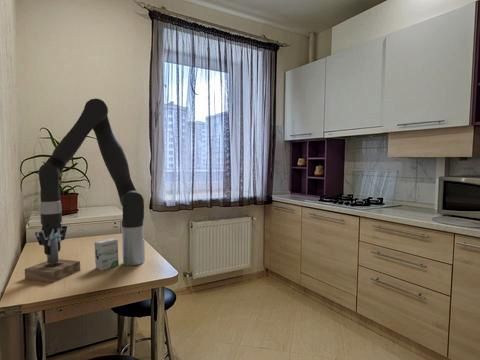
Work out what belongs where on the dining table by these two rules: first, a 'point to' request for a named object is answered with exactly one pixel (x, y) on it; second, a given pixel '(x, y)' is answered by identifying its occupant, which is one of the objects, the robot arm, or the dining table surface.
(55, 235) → the peg
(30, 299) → the dining table surface
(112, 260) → the ink box
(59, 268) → the socket
